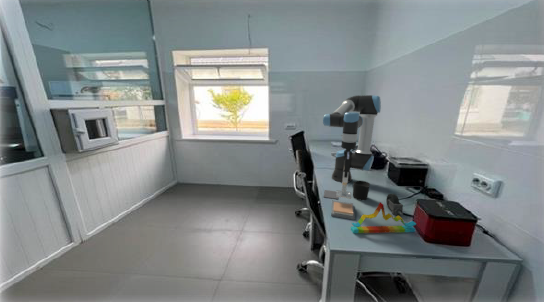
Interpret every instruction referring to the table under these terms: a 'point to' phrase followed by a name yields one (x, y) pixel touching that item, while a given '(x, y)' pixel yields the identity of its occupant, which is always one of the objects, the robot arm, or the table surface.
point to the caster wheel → (394, 204)
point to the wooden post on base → (343, 192)
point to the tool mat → (330, 194)
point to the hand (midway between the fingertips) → (344, 181)
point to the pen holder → (360, 190)
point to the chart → (382, 229)
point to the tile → (343, 209)
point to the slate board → (342, 214)
